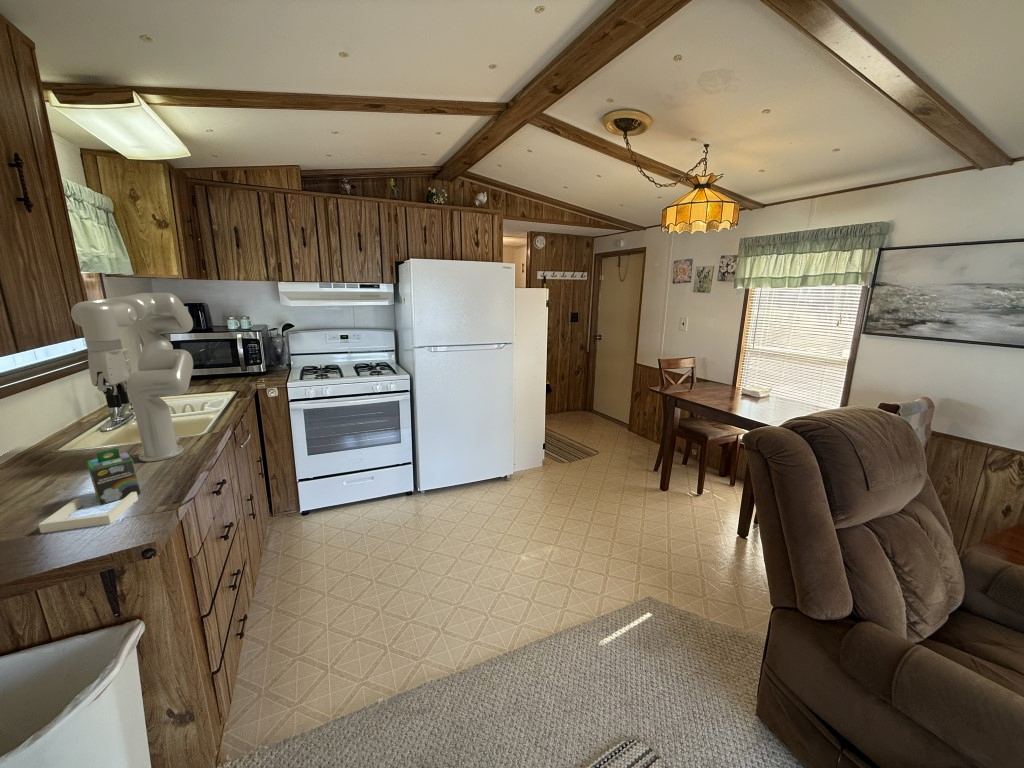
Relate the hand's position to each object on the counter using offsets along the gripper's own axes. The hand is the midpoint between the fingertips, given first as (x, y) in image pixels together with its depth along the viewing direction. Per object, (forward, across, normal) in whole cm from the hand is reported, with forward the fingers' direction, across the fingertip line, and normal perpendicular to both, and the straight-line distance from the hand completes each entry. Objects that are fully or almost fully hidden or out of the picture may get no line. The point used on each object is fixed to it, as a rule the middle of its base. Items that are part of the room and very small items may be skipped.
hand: (119, 405), depth 127 cm
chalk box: (+26, +10, 0) cm, 27 cm away
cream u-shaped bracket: (+25, +21, 0) cm, 33 cm away
